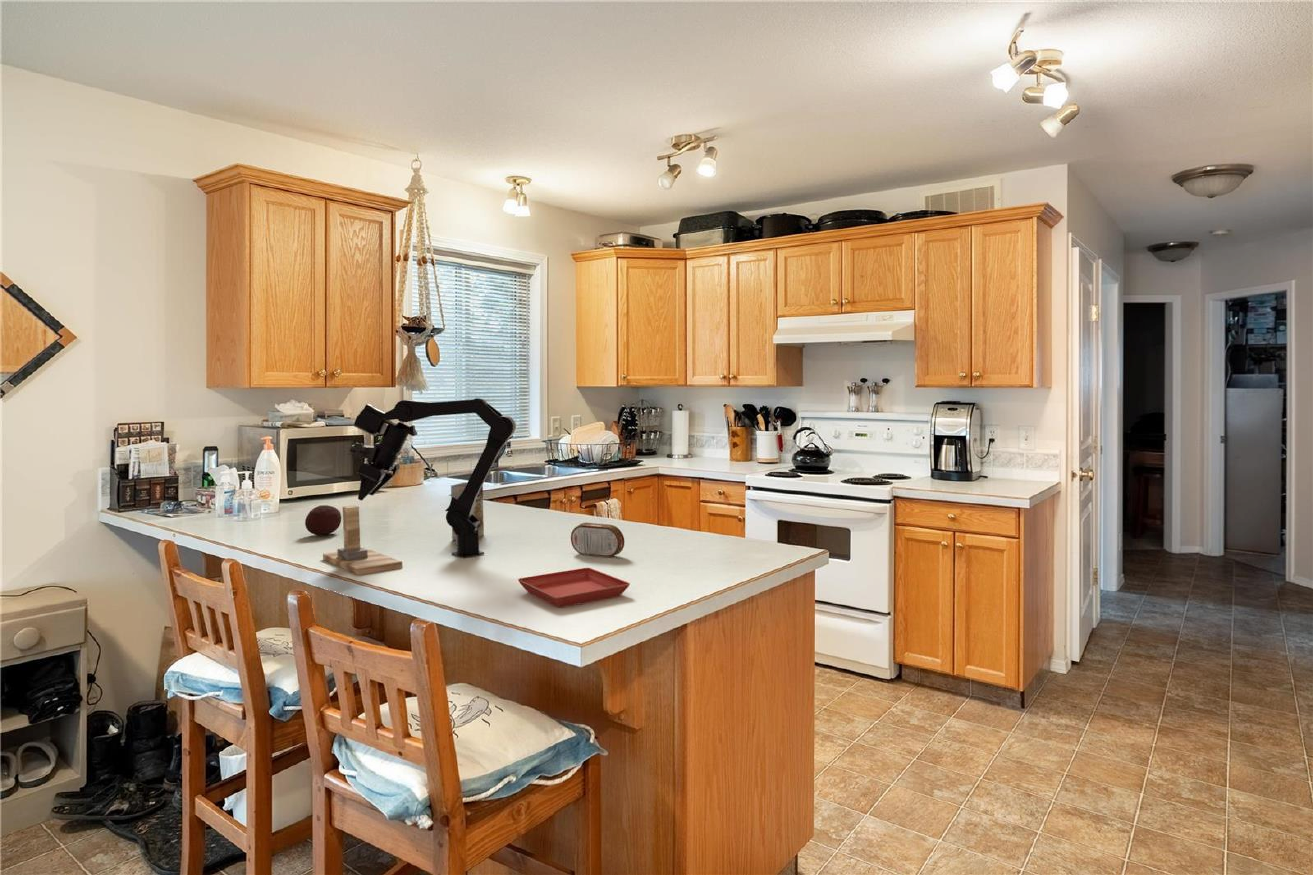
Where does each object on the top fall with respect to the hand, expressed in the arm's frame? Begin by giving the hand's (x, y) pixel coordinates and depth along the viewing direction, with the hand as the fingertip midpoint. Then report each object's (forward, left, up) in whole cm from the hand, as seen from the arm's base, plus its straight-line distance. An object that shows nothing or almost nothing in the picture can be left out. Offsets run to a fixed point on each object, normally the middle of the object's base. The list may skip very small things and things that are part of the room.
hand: (365, 497), depth 205 cm
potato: (+41, -3, -16) cm, 44 cm away
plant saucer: (-68, -18, -17) cm, 72 cm away
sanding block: (-4, +5, -14) cm, 16 cm away
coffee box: (+6, -33, -16) cm, 37 cm away
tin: (-41, -45, -16) cm, 63 cm away
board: (-6, +4, -16) cm, 18 cm away
